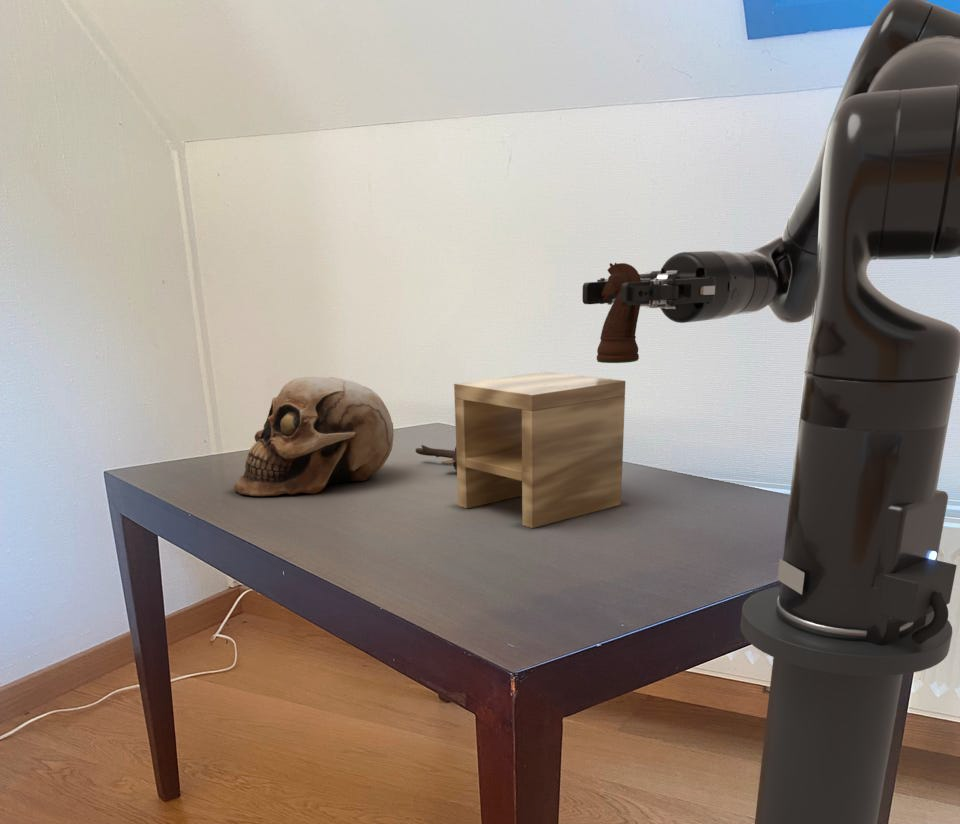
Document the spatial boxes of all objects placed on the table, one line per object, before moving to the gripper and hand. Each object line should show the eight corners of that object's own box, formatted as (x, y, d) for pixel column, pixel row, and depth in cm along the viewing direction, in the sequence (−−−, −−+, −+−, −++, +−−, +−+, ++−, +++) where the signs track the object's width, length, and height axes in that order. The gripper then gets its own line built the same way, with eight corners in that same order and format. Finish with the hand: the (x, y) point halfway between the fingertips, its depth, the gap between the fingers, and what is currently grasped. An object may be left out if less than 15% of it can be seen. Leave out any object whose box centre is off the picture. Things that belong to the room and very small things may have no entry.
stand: (621, 504, 99) (625, 380, 93) (532, 528, 91) (532, 395, 86) (545, 485, 107) (545, 371, 102) (458, 506, 100) (453, 383, 95)
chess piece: (612, 357, 104) (614, 262, 100) (650, 359, 100) (653, 261, 96) (588, 362, 101) (588, 264, 97) (626, 364, 97) (628, 262, 93)
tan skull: (221, 492, 107) (217, 373, 103) (302, 476, 122) (301, 372, 118) (339, 507, 102) (339, 383, 97) (407, 488, 117) (410, 380, 113)
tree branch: (573, 435, 119) (519, 445, 107) (571, 468, 120) (517, 481, 108) (456, 425, 128) (395, 433, 116) (456, 457, 129) (395, 467, 117)
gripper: (659, 252, 110) (556, 256, 100) (761, 249, 99) (658, 254, 89) (656, 318, 113) (556, 328, 103) (755, 322, 102) (654, 334, 92)
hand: (604, 294), depth 96 cm, fingers closed on chess piece, 5 cm apart
